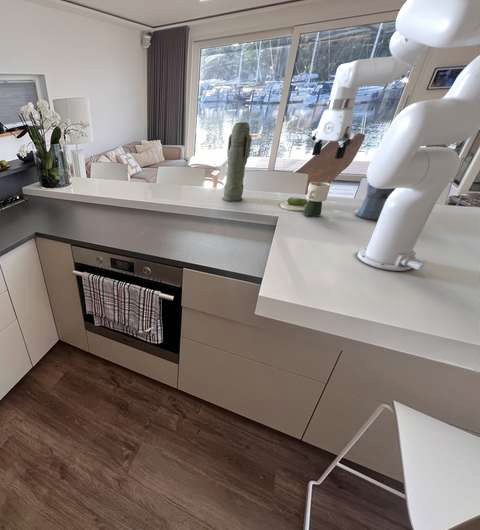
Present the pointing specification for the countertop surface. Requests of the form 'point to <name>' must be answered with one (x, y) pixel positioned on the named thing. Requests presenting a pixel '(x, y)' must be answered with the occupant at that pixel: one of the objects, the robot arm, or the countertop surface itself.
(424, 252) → the countertop surface
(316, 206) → the character mug
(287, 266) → the countertop surface
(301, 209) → the plate
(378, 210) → the moka pot
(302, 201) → the pickle
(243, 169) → the green cactus figure
